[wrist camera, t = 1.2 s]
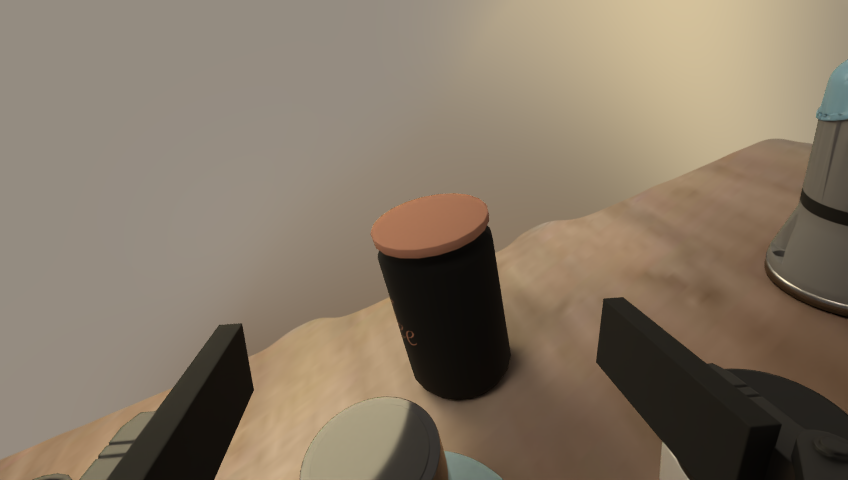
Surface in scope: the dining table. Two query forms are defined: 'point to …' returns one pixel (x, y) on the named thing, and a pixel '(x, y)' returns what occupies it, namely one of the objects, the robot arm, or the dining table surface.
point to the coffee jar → (445, 292)
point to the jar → (789, 399)
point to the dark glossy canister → (377, 444)
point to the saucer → (468, 468)
